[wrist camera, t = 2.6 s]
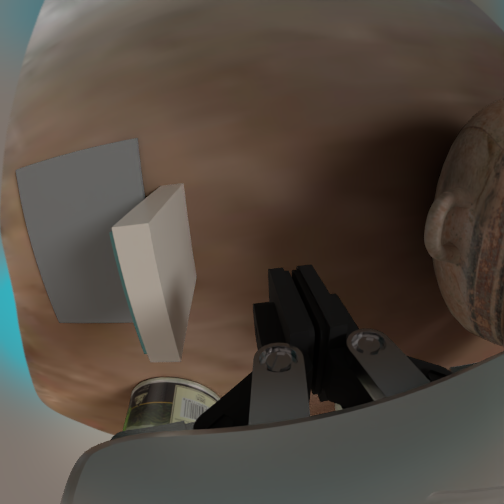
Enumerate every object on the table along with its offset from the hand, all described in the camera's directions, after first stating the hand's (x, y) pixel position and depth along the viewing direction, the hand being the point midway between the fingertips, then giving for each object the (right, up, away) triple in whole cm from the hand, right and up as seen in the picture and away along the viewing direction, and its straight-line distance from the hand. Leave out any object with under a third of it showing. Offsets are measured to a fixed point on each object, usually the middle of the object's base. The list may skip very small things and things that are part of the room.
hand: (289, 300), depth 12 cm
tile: (-7, +3, +9) cm, 11 cm away
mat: (-14, +2, +8) cm, 17 cm away
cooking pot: (+19, +7, +9) cm, 22 cm away
